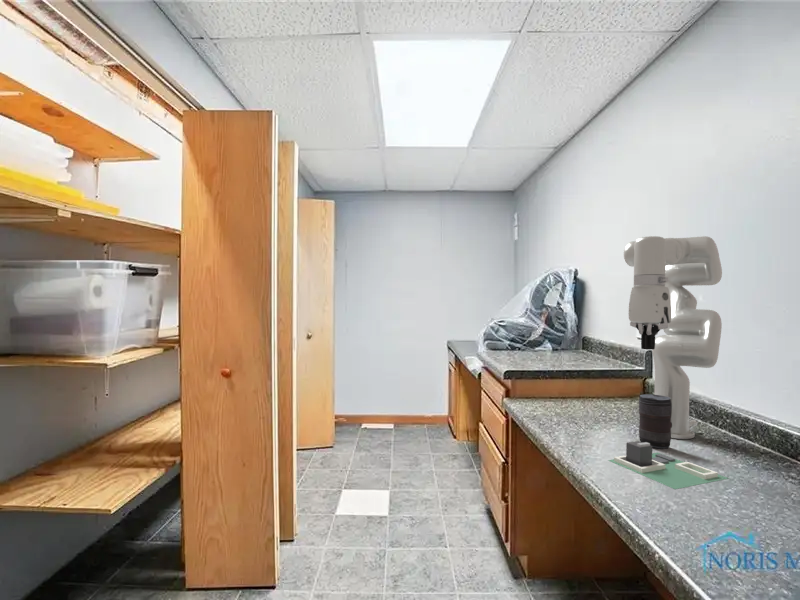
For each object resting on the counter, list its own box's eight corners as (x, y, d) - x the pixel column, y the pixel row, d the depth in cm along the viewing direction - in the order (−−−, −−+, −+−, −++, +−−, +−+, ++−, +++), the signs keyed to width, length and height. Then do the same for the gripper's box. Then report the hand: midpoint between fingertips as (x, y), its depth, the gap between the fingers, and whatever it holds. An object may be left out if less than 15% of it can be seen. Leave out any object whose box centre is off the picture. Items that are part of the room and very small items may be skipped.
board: (657, 456, 118) (657, 448, 118) (728, 483, 101) (729, 473, 101) (607, 464, 111) (607, 456, 111) (674, 494, 94) (675, 484, 94)
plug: (637, 460, 111) (638, 438, 111) (651, 466, 107) (652, 443, 107) (626, 462, 110) (626, 440, 110) (639, 468, 106) (640, 445, 106)
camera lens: (643, 442, 130) (644, 392, 130) (674, 449, 124) (675, 397, 124) (634, 448, 124) (635, 396, 124) (666, 456, 119) (667, 401, 119)
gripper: (685, 281, 113) (683, 352, 113) (635, 283, 127) (634, 346, 127) (665, 280, 111) (663, 352, 111) (616, 282, 125) (615, 346, 125)
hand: (647, 349), depth 119 cm, fingers closed
